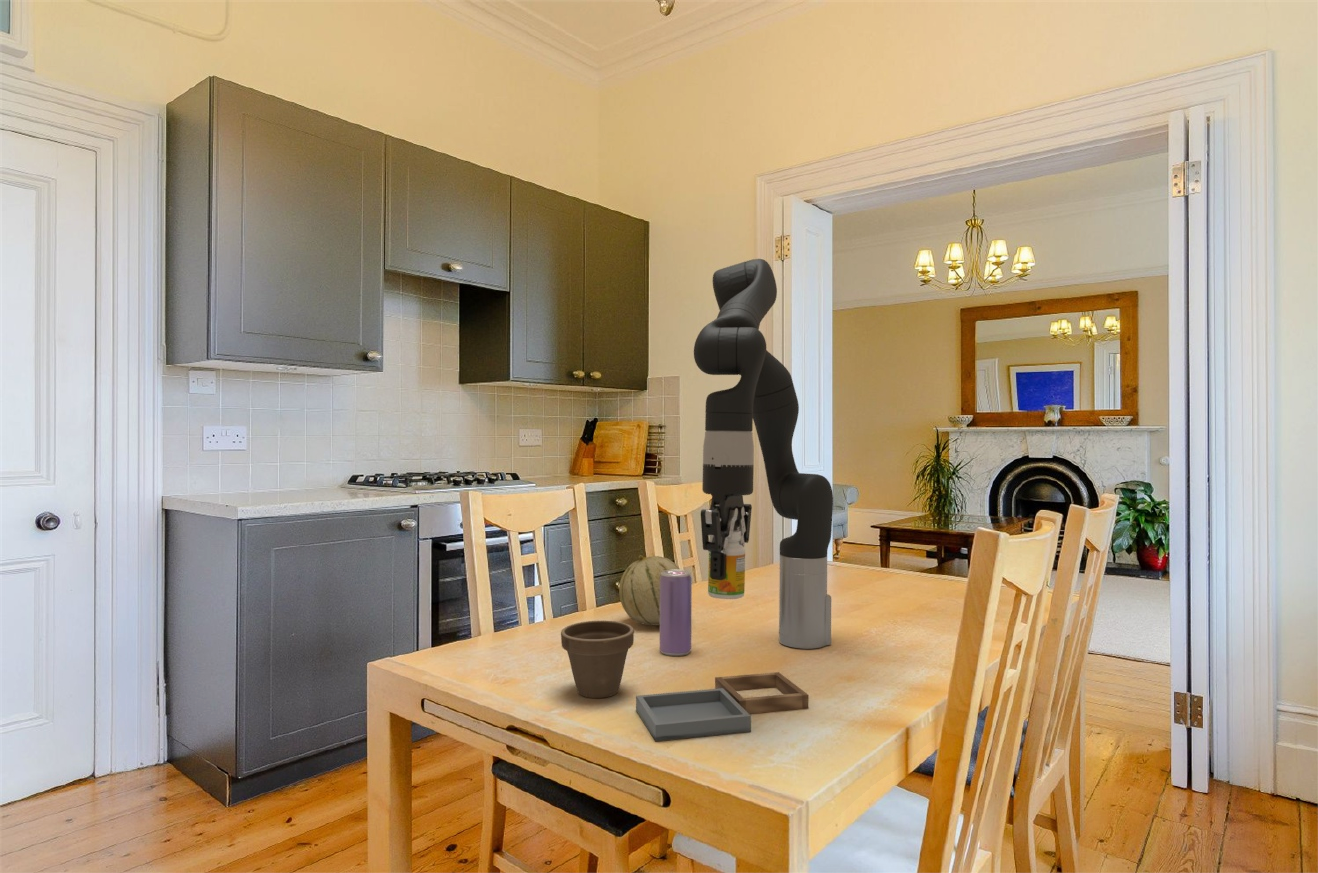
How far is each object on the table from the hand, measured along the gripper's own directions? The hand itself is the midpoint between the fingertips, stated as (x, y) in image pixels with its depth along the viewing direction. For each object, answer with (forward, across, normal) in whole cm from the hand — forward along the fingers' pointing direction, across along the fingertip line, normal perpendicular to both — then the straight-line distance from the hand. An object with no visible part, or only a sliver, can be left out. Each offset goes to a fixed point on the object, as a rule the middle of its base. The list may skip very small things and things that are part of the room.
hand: (726, 575), depth 112 cm
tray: (+20, +6, -3) cm, 21 cm away
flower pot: (+20, +2, -21) cm, 29 cm away
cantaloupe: (+20, -39, -34) cm, 55 cm away
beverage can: (+20, -23, -20) cm, 37 cm away
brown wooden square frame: (+20, -8, +3) cm, 22 cm away
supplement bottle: (+3, 0, 0) cm, 3 cm away
